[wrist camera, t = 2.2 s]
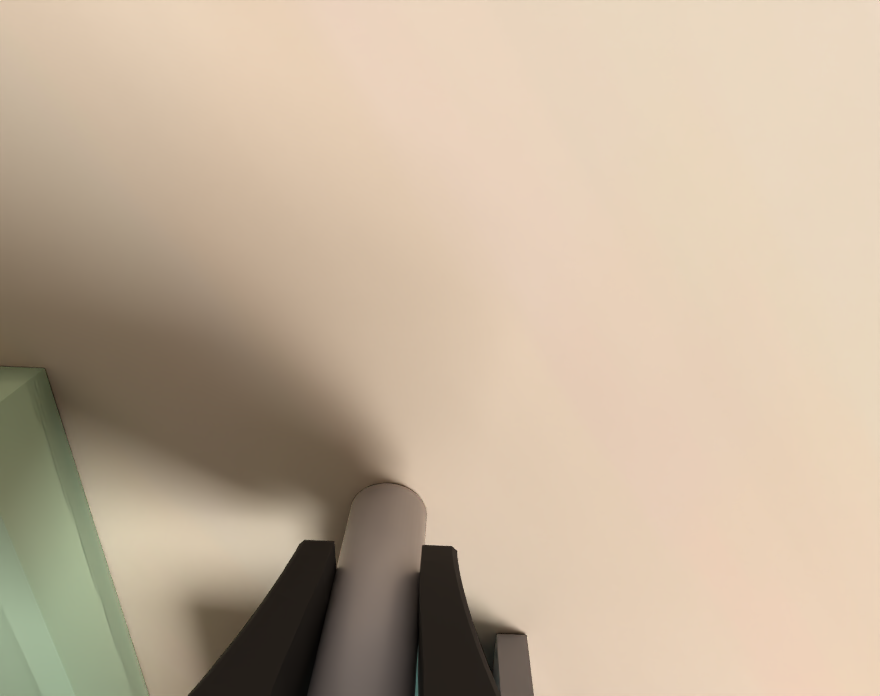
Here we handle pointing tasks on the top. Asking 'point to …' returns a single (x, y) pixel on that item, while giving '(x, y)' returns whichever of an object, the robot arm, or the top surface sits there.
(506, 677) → the rack
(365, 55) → the top surface
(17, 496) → the tray
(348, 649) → the cyan and grey piece
